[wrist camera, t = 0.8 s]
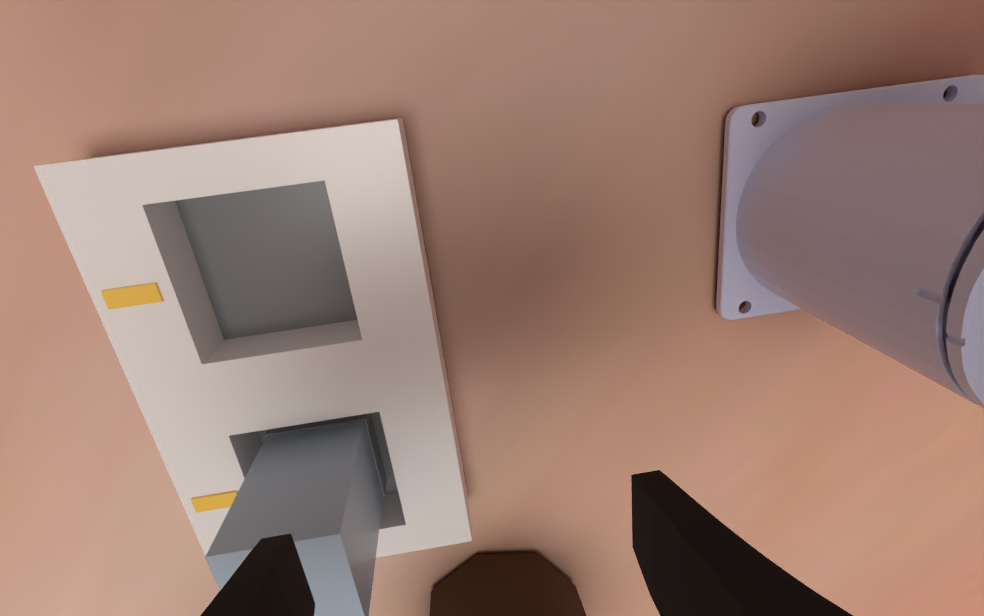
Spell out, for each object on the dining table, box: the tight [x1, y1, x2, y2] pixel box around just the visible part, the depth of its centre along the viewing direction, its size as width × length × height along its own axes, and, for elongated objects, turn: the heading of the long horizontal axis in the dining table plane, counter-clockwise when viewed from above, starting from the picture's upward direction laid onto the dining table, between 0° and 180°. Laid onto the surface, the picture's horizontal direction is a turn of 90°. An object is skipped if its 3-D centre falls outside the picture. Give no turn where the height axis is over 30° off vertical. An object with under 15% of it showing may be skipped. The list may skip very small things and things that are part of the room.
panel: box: [33, 118, 472, 558], centre depth 18 cm, size 10×16×3 cm, turn 7°
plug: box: [205, 413, 387, 616], centre depth 18 cm, size 4×4×6 cm
